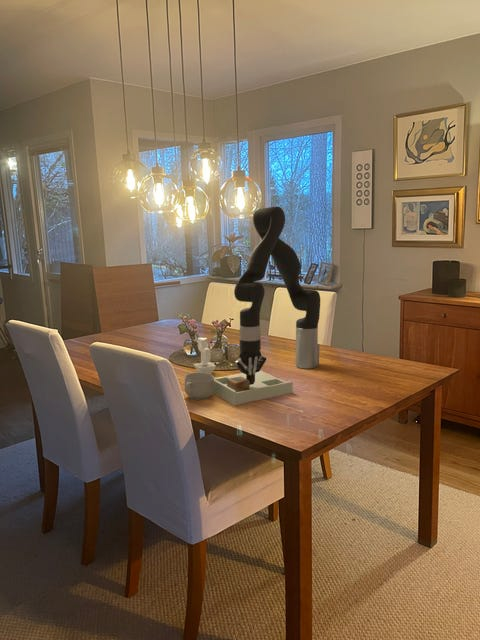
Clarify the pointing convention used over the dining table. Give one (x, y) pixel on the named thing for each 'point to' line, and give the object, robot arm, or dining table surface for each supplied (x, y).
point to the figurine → (204, 357)
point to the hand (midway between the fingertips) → (250, 383)
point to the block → (238, 384)
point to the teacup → (199, 385)
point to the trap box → (252, 388)
